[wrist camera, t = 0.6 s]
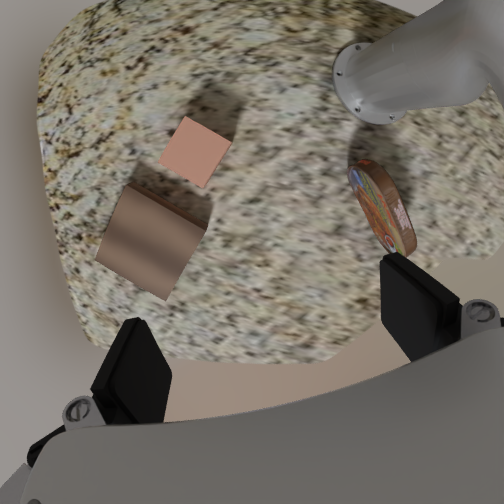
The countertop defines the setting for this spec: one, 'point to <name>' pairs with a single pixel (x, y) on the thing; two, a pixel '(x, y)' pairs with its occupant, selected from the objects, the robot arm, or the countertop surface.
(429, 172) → the countertop surface
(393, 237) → the tin
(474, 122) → the countertop surface
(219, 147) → the cube
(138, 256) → the base
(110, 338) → the countertop surface
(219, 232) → the countertop surface
